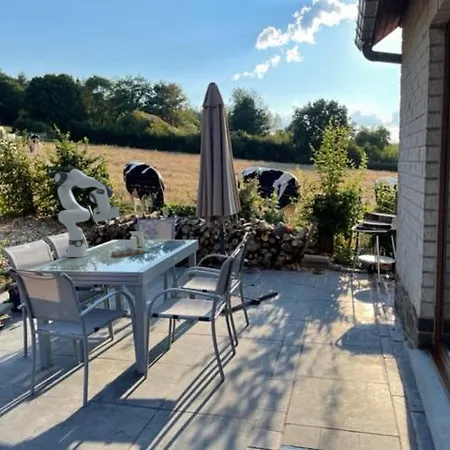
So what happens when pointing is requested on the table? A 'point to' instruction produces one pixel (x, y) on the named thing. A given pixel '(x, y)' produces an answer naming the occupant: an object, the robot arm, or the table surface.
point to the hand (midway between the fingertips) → (108, 223)
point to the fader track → (127, 253)
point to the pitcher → (139, 237)
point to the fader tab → (133, 243)
